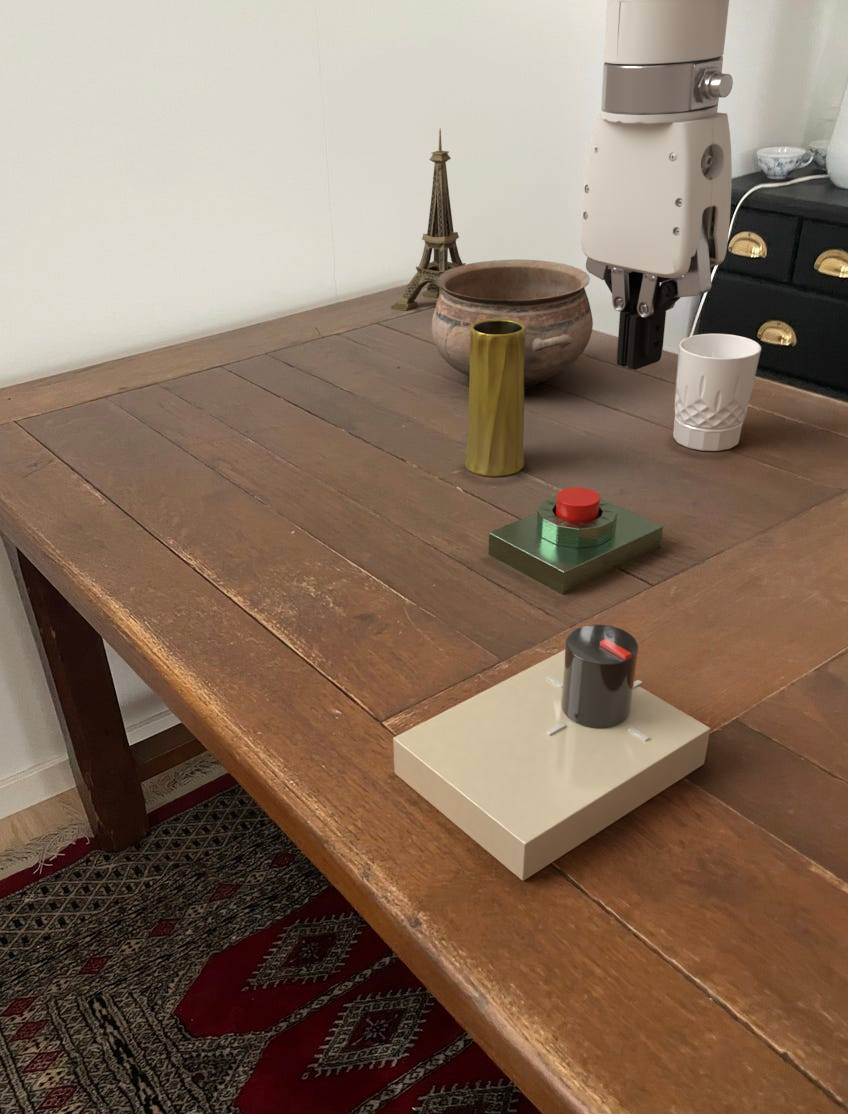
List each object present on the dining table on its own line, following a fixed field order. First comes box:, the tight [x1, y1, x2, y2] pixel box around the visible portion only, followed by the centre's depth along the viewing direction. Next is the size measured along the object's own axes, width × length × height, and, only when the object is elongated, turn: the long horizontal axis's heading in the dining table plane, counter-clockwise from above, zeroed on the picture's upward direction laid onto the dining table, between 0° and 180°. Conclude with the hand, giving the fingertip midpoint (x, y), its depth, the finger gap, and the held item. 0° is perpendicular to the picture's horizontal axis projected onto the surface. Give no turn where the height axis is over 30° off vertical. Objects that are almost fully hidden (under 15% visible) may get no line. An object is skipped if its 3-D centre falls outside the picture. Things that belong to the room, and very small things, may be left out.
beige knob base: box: [392, 649, 711, 882], centre depth 65 cm, size 16×12×3 cm
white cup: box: [672, 333, 762, 452], centre depth 105 cm, size 8×8×10 cm
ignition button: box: [556, 486, 601, 522], centre depth 87 cm, size 4×4×2 cm
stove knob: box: [561, 624, 639, 728], centre depth 65 cm, size 4×4×5 cm
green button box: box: [488, 495, 664, 596], centre depth 88 cm, size 12×9×4 cm
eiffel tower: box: [390, 129, 467, 312], centre depth 146 cm, size 11×11×25 cm
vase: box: [464, 319, 526, 478], centre depth 101 cm, size 6×6×14 cm
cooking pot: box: [431, 258, 594, 390], centre depth 122 cm, size 25×19×12 cm
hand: (638, 362), depth 78 cm, fingers closed
